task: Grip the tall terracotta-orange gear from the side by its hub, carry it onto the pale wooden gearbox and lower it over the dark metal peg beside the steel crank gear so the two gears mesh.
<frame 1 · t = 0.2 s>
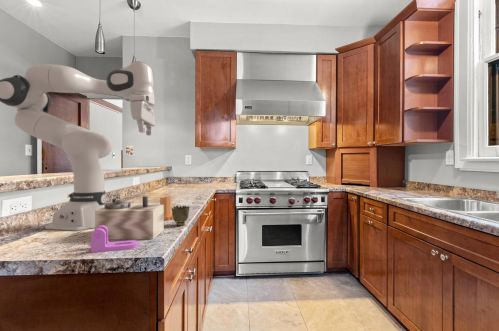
hand: (145, 133, 115), 39 cm above the countertop, tool pointing down, fingers open, 8 cm apart
orange gear: (165, 218, 130), on the countertop
gearbox: (131, 234, 102), on the countertop
cup: (180, 225, 116), on the countertop
bracket: (116, 248, 86), on the countertop
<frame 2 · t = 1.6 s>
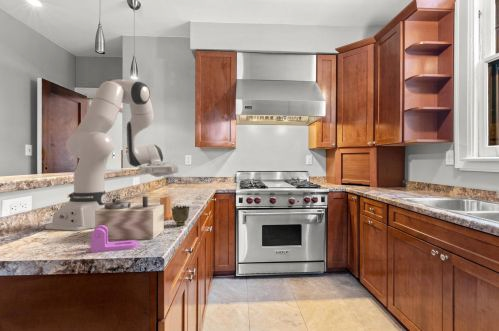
hand: (161, 169, 140), 23 cm above the countertop, tool horizontal, fingers open, 8 cm apart
nothing on the countertop moved.
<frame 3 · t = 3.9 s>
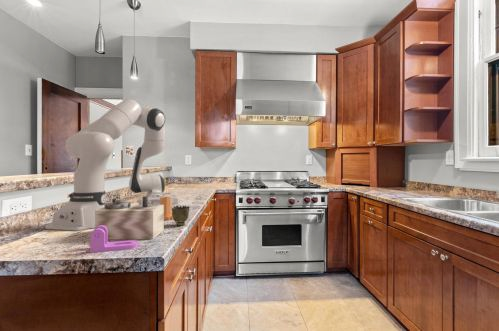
hand: (161, 203, 139), 6 cm above the countertop, tool horizontal, fingers open, 8 cm apart
nothing on the countertop moved.
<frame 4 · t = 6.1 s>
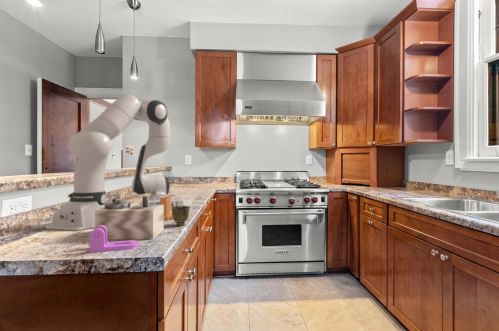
hand: (166, 206, 129), 6 cm above the countertop, tool horizontal, fingers closed on orange gear, 5 cm apart
orange gear: (165, 218, 130), on the countertop, touching gripper
everything else where it was.
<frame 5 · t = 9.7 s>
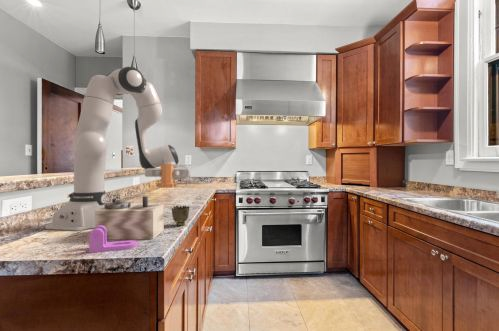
hand: (166, 173, 121), 22 cm above the countertop, tool horizontal, fingers closed on orange gear, 5 cm apart
orange gear: (167, 186, 122), point 16 cm above the countertop, touching gripper
everything else where it was.
when the fingers open (17 cm above the countertop, at t = 13.0 s): orange gear drops 1 cm, resting on gearbox.
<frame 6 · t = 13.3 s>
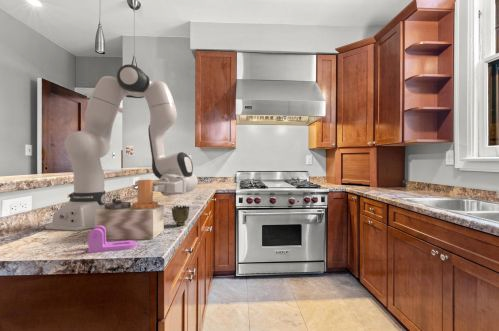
hand: (143, 187, 101), 17 cm above the countertop, tool horizontal, fingers open, 8 cm apart
orange gear: (145, 206, 102), point 10 cm above the countertop, touching gearbox
everything else where it was.
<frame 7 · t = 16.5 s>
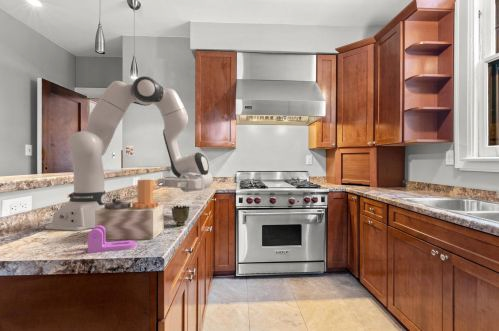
hand: (167, 184, 113), 18 cm above the countertop, tool horizontal, fingers open, 8 cm apart
nothing on the countertop moved.
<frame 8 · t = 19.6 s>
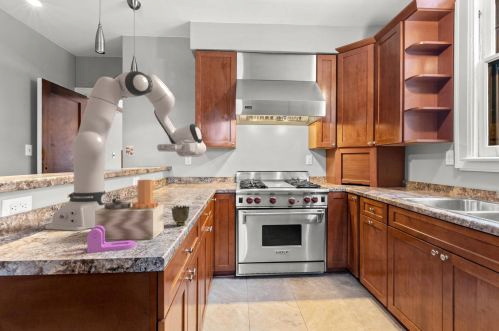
hand: (165, 147, 131), 34 cm above the countertop, tool horizontal, fingers open, 8 cm apart
nothing on the countertop moved.
at the end: orange gear 0.0 cm from the target spot on the gearbox, point 10.2 cm above the gearbox's base; orange gear tilted 0°; the gripper is holding nothing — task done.
